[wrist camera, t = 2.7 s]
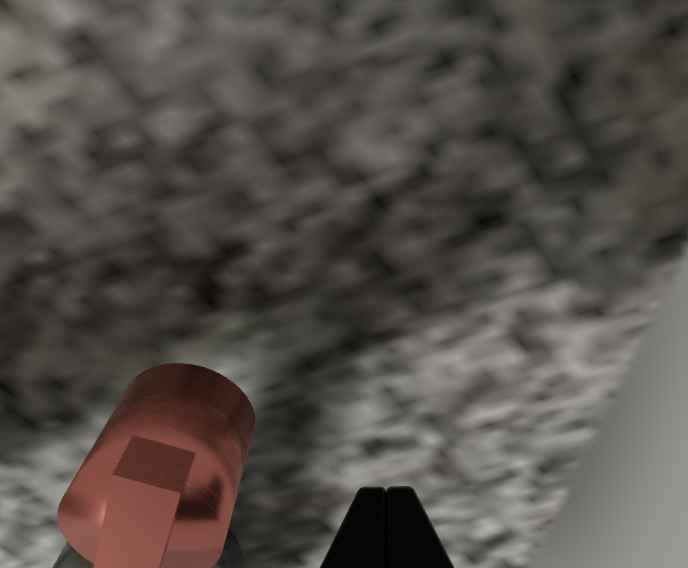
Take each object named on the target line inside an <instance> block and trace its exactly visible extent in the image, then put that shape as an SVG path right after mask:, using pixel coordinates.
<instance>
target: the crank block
mask: <svg viewBox="0 0 688 568" xmlns="http://www.w3.org/2000/svg"><path fill="white" fill-rule="evenodd" d="M241 563H242V557H241V551H240V548H239V545H238V543H237V541H236V539H235V538H234V536H233V535H232V534H231V532H230V531H229V530H228V532H227V536H226V540H225V543H224V547H223V551H222V554H221V556H220V558H219V560H218V561H217V562H216V563H215V565H214V566H212V567H211V568H241ZM53 568H94V564H93V563H91V562H90V561H89V560H87V559H86V558H84V557H83V556H82V555H81V554H79V553H78V552H77V551H76V550H75V549H74V548H73V547H72V546H71V545H70V543H69V542H68V541H67V542H66V544H65V546H64V548H63V550H62V551H61V553H60V555H59V557H58V559H57V561H56V563H55V564H54V566H53Z"/></svg>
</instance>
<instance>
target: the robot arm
mask: <svg viewBox="0 0 688 568" xmlns="http://www.w3.org/2000/svg"><path fill="white" fill-rule="evenodd" d="M320 568H454V566H453V564H452V562H451V560H450V558H449V557H448V555H447V553H446V551H445V549H444V547H443V545H442V543H441V541H440V539H439V537H438V535H437V533H436V531H435V529H434V527H433V525H432V523H431V521H430V519H429V517H428V516H427V514H426V512H425V510H424V508H423V506H422V504H421V502H420V500H419V498H418V496H417V494H416V492H415V490H414V489H413V488H412V487H410V486H391V487H389V488H388V489H387V491H386V490H385V488H383V487H362V488H360V489H359V490H358V492H357V494H356V496H355V498H354V500H353V502H352V504H351V506H350V508H349V510H348V512H347V514H346V516H345V518H344V520H343V522H342V524H341V526H340V528H339V530H338V532H337V534H336V536H335V538H334V540H333V542H332V544H331V546H330V548H329V550H328V552H327V554H326V556H325V559H324V561H323V563H322V565H321V567H320Z"/></svg>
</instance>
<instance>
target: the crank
mask: <svg viewBox="0 0 688 568" xmlns="http://www.w3.org/2000/svg"><path fill="white" fill-rule="evenodd" d="M255 423H256V421H255V414H254V410H253V407H252V405H251V403H250V401H249V400H248V398H247V396H246V395H245V394H244V393H243V391H242V390H241V389H240V388H239V387H238V386H237V385H236V384H234V383H233V382H232V381H230V380H229V379H228V378H226V377H224V376H223V375H221V374H219V373H217V372H215V371H213V370H210V369H207V368H205V367H201V366H197V365H192V364H184V363H172V364H164V365H159V366H155V367H152V368H150V369H148V370H145V371H144V372H142V373H141V374H139V375H138V376H137V377H136V378H135V379H133V381H132V382H131V383H130V385H129V386H128V388H127V389H126V391H125V393H124V395H123V396H122V398H121V400H120V401H119V403H118V405H117V406H116V408H115V410H114V411H113V413H112V415H111V417H110V418H109V420H108V422H107V423H106V425H105V427H104V428H103V430H102V432H101V433H100V435H99V437H98V439H97V440H96V442H95V444H94V445H93V447H92V449H91V450H90V452H89V454H88V455H87V457H86V459H85V461H84V462H83V464H82V466H81V467H80V469H79V471H78V472H77V474H76V476H75V478H74V479H73V481H72V483H71V484H70V486H69V488H68V489H67V491H66V493H65V494H64V496H63V498H62V500H61V502H60V504H59V508H58V521H59V526H60V528H61V531H62V533H63V535H64V536H65V538H66V540H67V541H68V542H69V543H70V545H71V546H72V547H73V548H74V549H75V550H76V551H77V552H78V553H79V554H81V555H82V556H83V557H84V558H86V559H87V560H89V561H90V562H91V563H93V564H94V568H211V567H212V566H214V565H215V563H216V562H217V561H218V560H219V558H220V556H221V554H222V551H223V547H224V543H225V540H226V536H227V532H228V528H229V525H230V521H231V517H232V513H233V510H234V506H235V502H236V498H237V494H238V491H239V487H240V483H241V479H242V476H243V472H244V468H245V464H246V461H247V457H248V453H249V449H250V446H251V442H252V438H253V434H254V431H255Z"/></svg>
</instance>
